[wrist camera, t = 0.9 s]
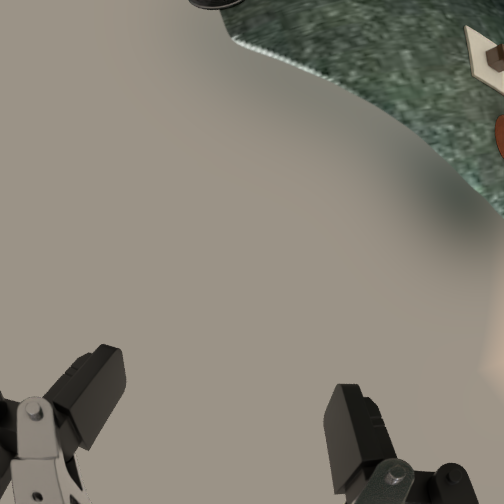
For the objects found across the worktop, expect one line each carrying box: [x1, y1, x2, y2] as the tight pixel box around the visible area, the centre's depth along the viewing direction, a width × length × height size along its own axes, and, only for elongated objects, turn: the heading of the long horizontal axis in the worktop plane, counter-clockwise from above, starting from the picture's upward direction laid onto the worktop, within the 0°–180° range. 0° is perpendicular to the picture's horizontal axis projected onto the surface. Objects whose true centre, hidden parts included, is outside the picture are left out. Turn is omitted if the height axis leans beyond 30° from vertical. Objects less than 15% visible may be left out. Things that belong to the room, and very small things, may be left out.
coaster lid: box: [464, 26, 504, 95], centre depth 21 cm, size 10×10×6 cm
